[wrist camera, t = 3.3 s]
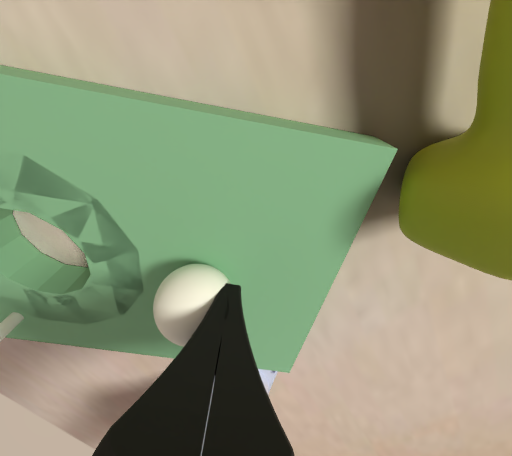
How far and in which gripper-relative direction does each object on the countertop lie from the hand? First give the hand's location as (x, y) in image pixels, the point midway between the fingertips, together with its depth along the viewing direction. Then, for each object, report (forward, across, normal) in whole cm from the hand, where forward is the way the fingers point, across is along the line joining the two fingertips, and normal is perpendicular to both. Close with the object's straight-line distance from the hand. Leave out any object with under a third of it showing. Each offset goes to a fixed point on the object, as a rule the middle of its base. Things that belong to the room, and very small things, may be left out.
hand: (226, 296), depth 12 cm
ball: (0, +2, 0) cm, 2 cm away
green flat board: (+4, +5, +1) cm, 7 cm away
